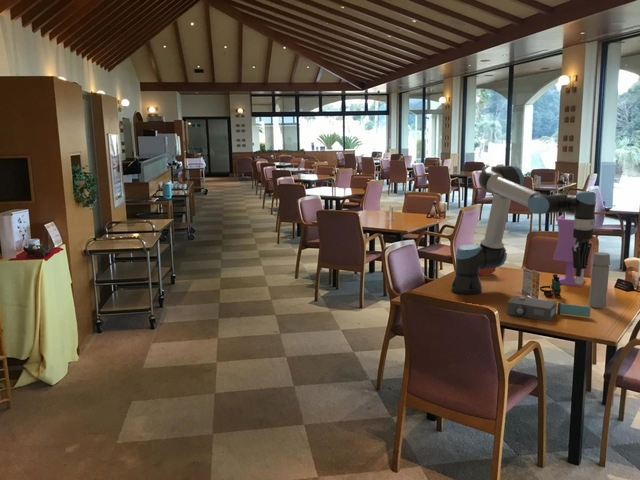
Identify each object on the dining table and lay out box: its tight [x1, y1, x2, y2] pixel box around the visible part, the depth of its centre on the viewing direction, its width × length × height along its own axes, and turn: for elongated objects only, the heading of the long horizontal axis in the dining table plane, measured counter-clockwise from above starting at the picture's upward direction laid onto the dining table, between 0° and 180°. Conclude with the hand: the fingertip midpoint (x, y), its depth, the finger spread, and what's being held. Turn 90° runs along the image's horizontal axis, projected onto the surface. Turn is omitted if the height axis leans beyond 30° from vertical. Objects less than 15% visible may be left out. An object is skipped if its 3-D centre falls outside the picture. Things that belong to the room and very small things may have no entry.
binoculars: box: [539, 273, 563, 299], centre depth 278 cm, size 9×11×10 cm
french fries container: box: [475, 243, 496, 276], centre depth 322 cm, size 5×11×18 cm, turn 89°
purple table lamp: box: [552, 215, 590, 288], centre depth 301 cm, size 16×16×35 cm
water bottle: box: [588, 251, 611, 309], centre depth 260 cm, size 9×8×25 cm
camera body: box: [506, 295, 558, 322], centre depth 250 cm, size 18×14×6 cm
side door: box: [556, 301, 592, 318], centre depth 248 cm, size 2×13×5 cm, turn 64°
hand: (578, 283), depth 240 cm, fingers closed
